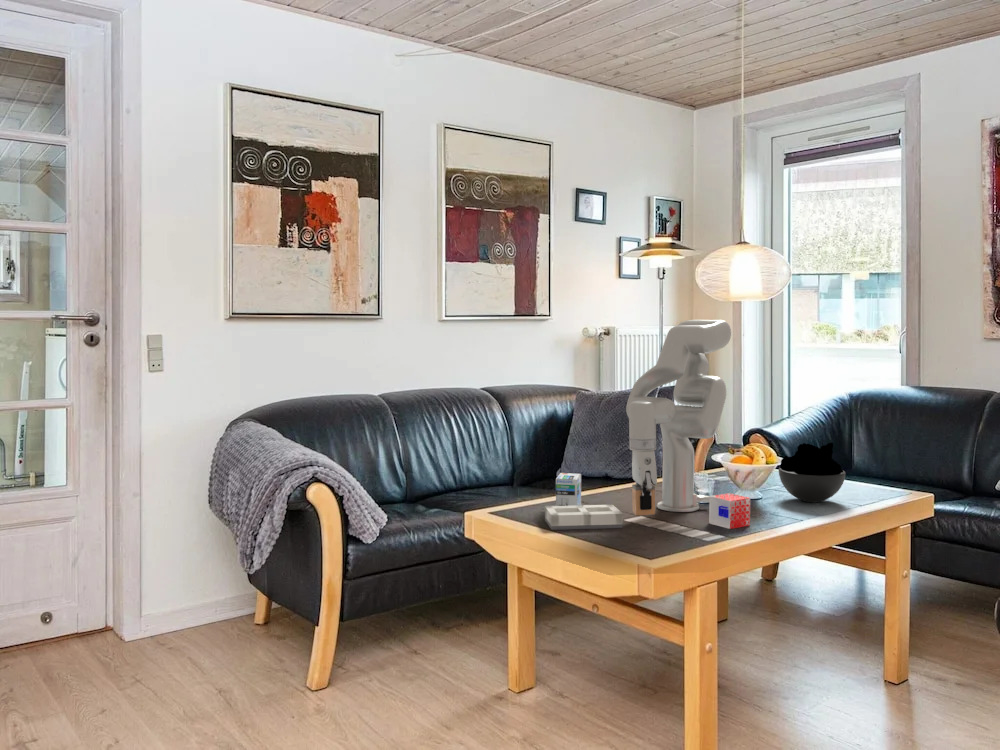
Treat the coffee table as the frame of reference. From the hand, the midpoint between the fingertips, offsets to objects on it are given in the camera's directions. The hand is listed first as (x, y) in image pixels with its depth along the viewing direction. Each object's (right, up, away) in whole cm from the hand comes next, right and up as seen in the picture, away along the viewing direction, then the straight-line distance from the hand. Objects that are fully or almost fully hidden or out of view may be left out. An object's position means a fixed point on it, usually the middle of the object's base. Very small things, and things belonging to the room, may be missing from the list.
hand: (643, 506), depth 250 cm
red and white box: (+24, -5, -3) cm, 24 cm away
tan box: (0, -2, 0) cm, 2 cm away
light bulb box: (-20, -4, +14) cm, 25 cm away
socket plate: (-18, -5, -2) cm, 18 cm away
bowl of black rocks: (+58, -3, +28) cm, 64 cm away
